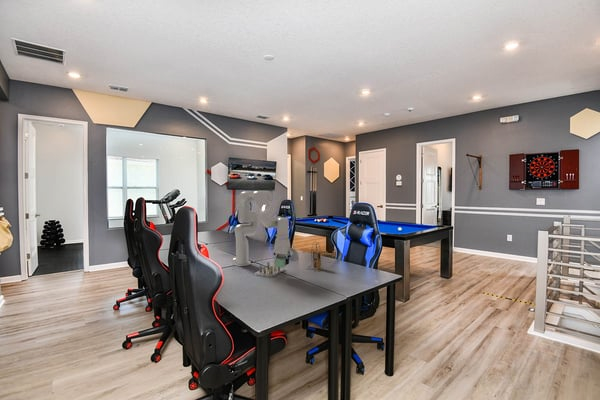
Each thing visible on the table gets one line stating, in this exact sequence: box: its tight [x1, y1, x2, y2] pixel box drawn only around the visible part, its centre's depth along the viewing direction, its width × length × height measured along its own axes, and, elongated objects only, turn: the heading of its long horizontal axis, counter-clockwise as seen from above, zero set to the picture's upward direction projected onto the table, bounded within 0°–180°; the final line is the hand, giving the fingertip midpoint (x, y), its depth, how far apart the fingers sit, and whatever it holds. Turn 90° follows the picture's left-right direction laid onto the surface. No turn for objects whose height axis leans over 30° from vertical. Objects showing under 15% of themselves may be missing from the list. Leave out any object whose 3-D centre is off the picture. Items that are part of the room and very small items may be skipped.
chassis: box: [254, 261, 286, 278], centre depth 204 cm, size 18×14×6 cm
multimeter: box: [309, 241, 324, 272], centre depth 211 cm, size 15×10×20 cm
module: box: [274, 254, 291, 269], centre depth 191 cm, size 12×6×6 cm, turn 162°
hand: (282, 263), depth 191 cm, fingers closed on module, 6 cm apart
